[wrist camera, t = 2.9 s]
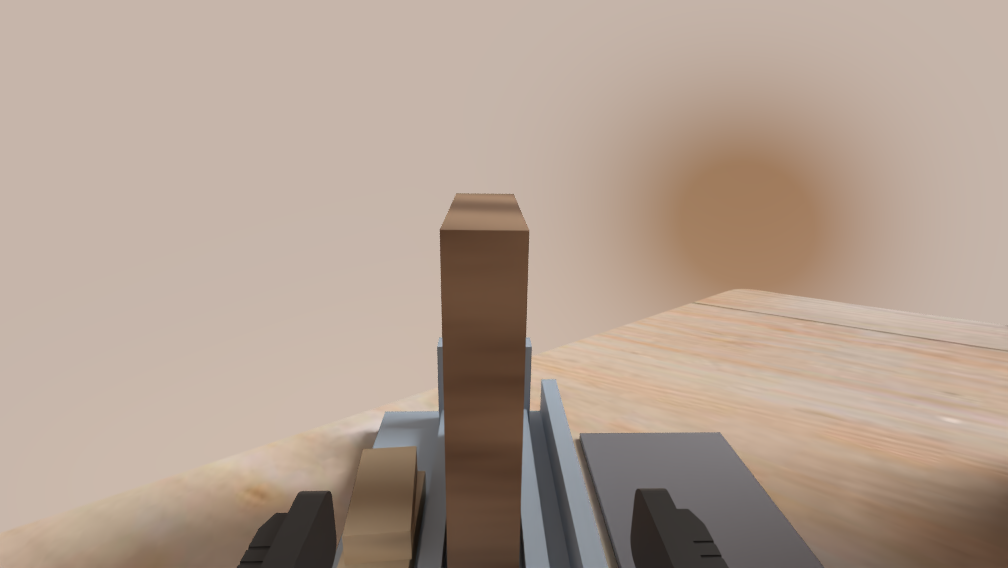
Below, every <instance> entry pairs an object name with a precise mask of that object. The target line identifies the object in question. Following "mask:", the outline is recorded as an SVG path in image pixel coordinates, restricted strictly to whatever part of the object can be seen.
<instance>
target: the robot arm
mask: <svg viewBox="0 0 1008 568" xmlns="http://www.w3.org/2000/svg"><path fill="white" fill-rule="evenodd" d="M630 544H631V552H632V557H633V561H634V564H635V567H636V568H729V567H728V565H727V564H726V562H725V560H724V558H722V555H721V553H720V551H719V549H718V547H717V546H716V544H714V540H713V538H712V537H711V535H710V533H709V531H708V529H707V528H706V526H705V524H704V523H703V522H702V521H701V520H700V519H699V518H698V517H697V516H696V515H694V514H693V513H692V512H691V511H690V510H689V509H677V508H676V506H675V504H674V502H673V500H672V498H671V496H670V494H669V492H668V491H667V489H665V488H638V489H636V491H635V497H634V506H633V515H632V524H631V534H630ZM335 553H336V530H335V520H334V510H333V501H332V494H331V492H330V491H301V492H299V493H298V495H297V496H296V498H295V500H294V502H293V504H292V506H291V508H290V510H289V512H288V513H276V514H274V515H273V516H272V517H271V518H270V519H269V520H268V521H267V522H266V523H265V524H263V525H262V526H261V527H260V528H259V529H258V531H257V533H256V535H255V536H254V538H253V540H252V542H251V543H250V545H249V549H248V550H246V552H245V554H244V556H243V558H242V559H241V561H240V565H238V566H237V568H332V566H333V563H334V559H335Z"/></svg>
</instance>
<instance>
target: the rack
mask: <svg viewBox="0 0 1008 568" xmlns="http://www.w3.org/2000/svg"><path fill="white" fill-rule="evenodd" d="M437 351H438V352H437V354H438V393H439V411H427V412H385V415H384V417H383V420H382V423H381V426H380V429H379V432H378V434H377V437H376V440H375V443H374V446H373V448H390V447H406V446H417V469H418V470H417V471H425V473H426V498H425V505H424V511H423V517H422V523H421V529H420V535H419V541H418V547H417V554H416V560H415V566H414V568H447V525H446V480H445V436H444V391H443V347H442V338H439V342H438V346H437ZM531 351H532V346H531V341H530V338H526V352H525V385H524V418H523V452H522V485H521V518H520V551H519V568H608V565H607V561H606V558H605V554H604V551H603V547H602V543H601V540H600V536H599V533H598V529H597V526H596V522H595V518H594V515H593V511H592V508H591V504H590V500H589V497H588V493H587V490H586V486H585V483H584V479H583V475H582V472H581V468H580V465H579V461H578V457H577V454H576V450H575V447H574V443H573V440H572V436H571V432H570V429H569V425H568V422H567V418H566V415H565V411H564V407H563V404H562V400H561V397H560V393H559V389H558V386H557V382H556V379H548V380H542V381H541V405H540V411H530V382H531ZM373 448H372V449H373ZM342 534H343V533H342ZM342 551H343V542H342V536H341V539H340V541H339V544H338V547H337V550H336V553H335V559H334V563H333V566H332V568H337V566H338V563H339V560H340V557H341V554H342Z"/></svg>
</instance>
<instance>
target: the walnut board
mask: <svg viewBox="0 0 1008 568" xmlns="http://www.w3.org/2000/svg"><path fill="white" fill-rule="evenodd" d="M528 252H529V229H528V227H527V224H526V222H525V220H524V217H523V215H522V213H521V210H520V208H519V206H518V203H517V201H516V199H515V196H514V194H461V193H460V194H459V193H457V194H456V196H455V198H454V200H453V202H452V204H451V207H450V209H449V211H448V213H447V215H446V217H445V220H444V222H443V224H442V226H441V228H440V256H441V301H442V347H443V391H444V436H445V480H446V525H447V568H519V551H520V518H521V485H522V452H523V418H524V385H525V352H526V319H527V286H528V285H527V284H528Z"/></svg>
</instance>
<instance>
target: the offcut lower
mask: <svg viewBox="0 0 1008 568" xmlns="http://www.w3.org/2000/svg"><path fill="white" fill-rule="evenodd" d="M425 498H426V473H425V471H417V486H416V501H415V517H414V532H413V548H412V559H408V560H396V561H385V562H373V563H361V564H350V565H345V562H344V552H343V551H342V554H341V557H340V560H339V563H338V566H337V568H414V566H415V560H416V554H417V547H418V541H419V535H420V529H421V523H422V517H423V511H424V505H425Z"/></svg>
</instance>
